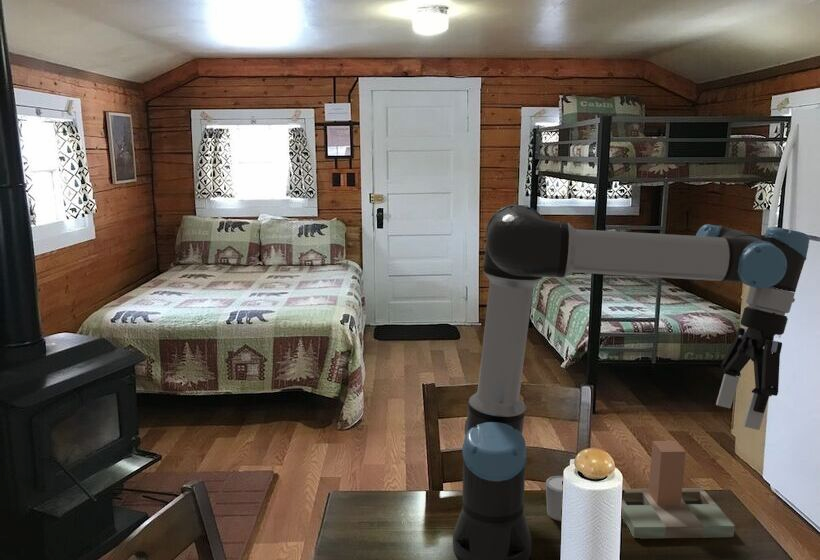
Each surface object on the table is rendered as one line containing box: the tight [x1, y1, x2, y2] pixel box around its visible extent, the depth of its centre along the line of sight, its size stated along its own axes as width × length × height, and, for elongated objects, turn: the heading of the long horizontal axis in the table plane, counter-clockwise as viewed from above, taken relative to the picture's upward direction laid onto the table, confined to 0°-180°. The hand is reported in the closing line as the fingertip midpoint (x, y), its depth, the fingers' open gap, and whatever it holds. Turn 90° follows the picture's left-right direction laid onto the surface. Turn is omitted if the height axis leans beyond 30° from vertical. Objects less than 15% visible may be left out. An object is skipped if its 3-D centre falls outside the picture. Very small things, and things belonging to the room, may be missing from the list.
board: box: [621, 487, 736, 539], centre depth 141 cm, size 14×20×2 cm
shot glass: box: [545, 475, 564, 522], centre depth 142 cm, size 7×7×7 cm
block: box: [647, 440, 687, 505], centre depth 143 cm, size 5×5×12 cm
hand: (736, 416), depth 131 cm, fingers open, 13 cm apart
